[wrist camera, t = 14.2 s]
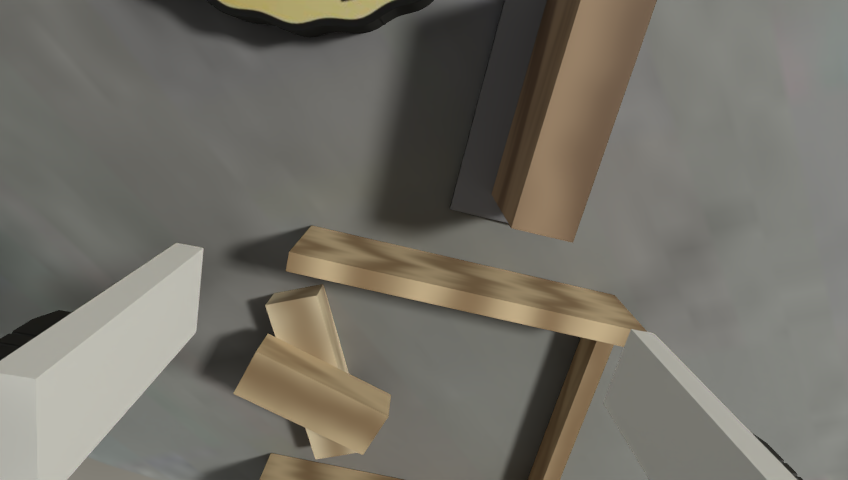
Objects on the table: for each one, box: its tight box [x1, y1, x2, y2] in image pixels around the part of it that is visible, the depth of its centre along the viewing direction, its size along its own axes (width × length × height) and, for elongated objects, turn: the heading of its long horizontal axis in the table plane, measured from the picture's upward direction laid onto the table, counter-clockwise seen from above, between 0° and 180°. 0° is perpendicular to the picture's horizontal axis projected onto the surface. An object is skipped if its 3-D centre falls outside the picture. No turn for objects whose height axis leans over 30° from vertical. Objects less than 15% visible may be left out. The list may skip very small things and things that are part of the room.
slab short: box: [233, 334, 391, 455], centre depth 42 cm, size 4×12×3 cm, turn 60°
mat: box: [450, 0, 547, 223], centre depth 38 cm, size 10×20×1 cm, turn 167°
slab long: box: [265, 284, 358, 459], centre depth 45 cm, size 4×16×3 cm, turn 12°
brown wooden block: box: [491, 0, 657, 242], centre depth 33 cm, size 4×16×10 cm, turn 167°
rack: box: [260, 225, 647, 480], centre depth 43 cm, size 27×26×7 cm
